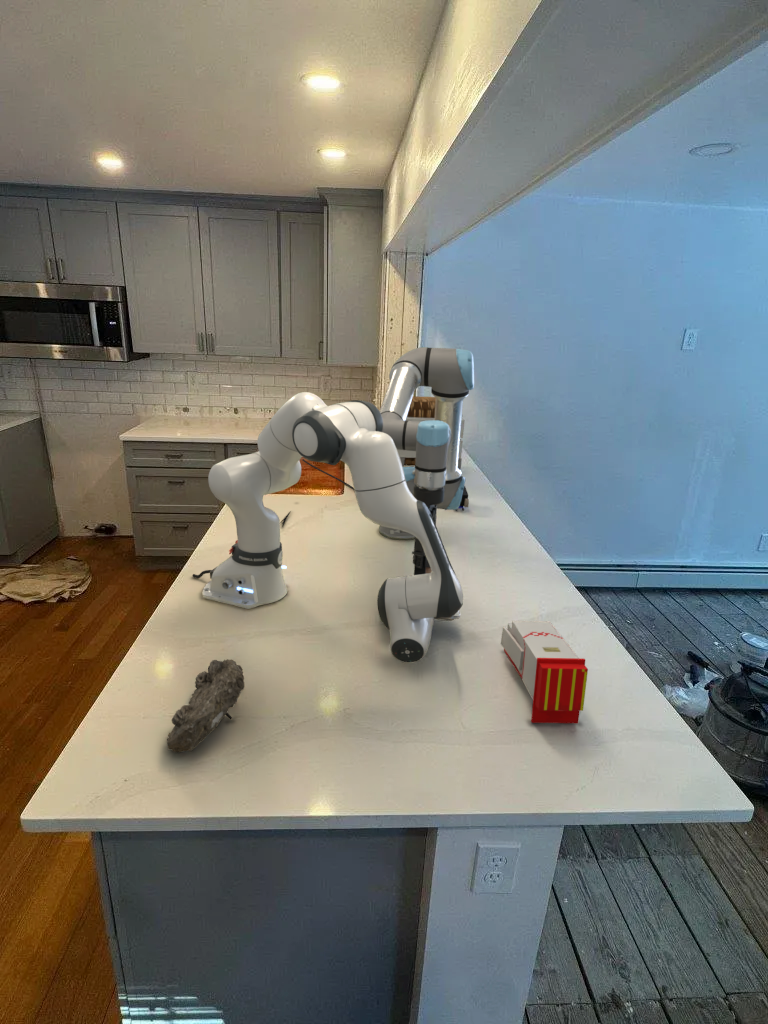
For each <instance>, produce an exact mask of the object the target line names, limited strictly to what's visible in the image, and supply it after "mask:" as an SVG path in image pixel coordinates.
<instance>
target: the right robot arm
mask: <svg viewBox="0 0 768 1024" xmlns="http://www.w3.org/2000/svg"><path fill="white" fill-rule="evenodd" d="M474 363H475V361H474V355H473V352H472V351H470V350H468V349H460V348H457V347H456V348H453V347H452V348H451V347H450V348H449V347H427V346H422V347H416V348H412V349H411V350H409V351H407V352H405V353H404V354H403V355H401V356H400V357H399V358H397V360H395V362H394V363H393V364H392V367H391V369H390V371H389V375H388V378H389V384H388V386H387V389H386V392H385V395H384V398H383V400H382V403H381V405H380V408H379V412H380V413H381V416H382V419H383V430H382V432H383V433H386V434H388V435H389V436H390V437H391V438H392V439H393V441H394V444H395V446H396V448H397V450H408V451H416V463H415V466H404V467H403V470H404V475H405V479H406V483H407V486H408V488H409V490H410V492H411V493H412V495H413V496H414V497H415V498H416V499H417V500H418V501H421V502H424V503H425V504H426V506H427V507H428V509H429V511H430V513H431V515H432V517H433V520H434V522H435V525H436V526H437V515H438V514H437V512H438V510H444V511H448V510H449V511H456V509H457V510H458V509H460V508H459V506H460V502H461V499H462V494H463V489H464V486H466V485H465V484H466V477H465V476H463V474H462V469H461V470H460V469H459V468H458V456H459V444H460V439H461V438H460V432H461V419H463V408H464V407H463V406H464V400H465V399H466V398H467V397H468V396H469V394H470V393H469V392H470V391H472V390H474V388H475V364H474ZM418 387H430V388H431V391H430V392H431V395H432V397H435V398H436V403H435V420H426V421H422V422H418V421H406V418H407V414H408V411H409V408H410V404H411V401H412V397H413V396H414V394H415V391H416V390H417V389H418ZM302 462H304V463H305V464H307V465H308V466H310V467H312V468H313V469H315V470H317V471H319V472H321V473H323V474H325V475H327V476H329V477H331V478H332V479H335V480H337V481H338V482H340V483H341V484H344V485H345V486H347V487H349V488H350V489H352V490H353V491H354V486H353V485H350V484H349V483H347V482H345V481H344V480H342V479H341V478H338V477H336V476H334V475H332V474H330V473H328V472H326V471H325V470H322V469H320V468H318V467H316V466H315V465H313V464H311V463H310V462H308V460H306V459H305V458H302ZM378 533H379V534H380V535H381V536H382V537H385V538H387V539H389V540H395V541H410V540H414V543H413V544H414V545H413V551H411V554H412V555H415V567H413V575H419V574H425V571H426V558H427V557H426V555H425V552H424V549H423V547H422V544H421V542H420V541H419V540H418V539H417V538H416V537H415V536H414V535H412V534H410V533H408V532H405V531H402V530H398V529H393V528H388V527H383V526H380V525H379V527H378Z"/></svg>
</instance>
